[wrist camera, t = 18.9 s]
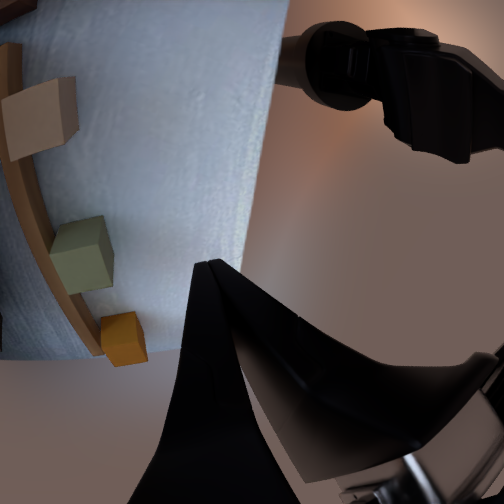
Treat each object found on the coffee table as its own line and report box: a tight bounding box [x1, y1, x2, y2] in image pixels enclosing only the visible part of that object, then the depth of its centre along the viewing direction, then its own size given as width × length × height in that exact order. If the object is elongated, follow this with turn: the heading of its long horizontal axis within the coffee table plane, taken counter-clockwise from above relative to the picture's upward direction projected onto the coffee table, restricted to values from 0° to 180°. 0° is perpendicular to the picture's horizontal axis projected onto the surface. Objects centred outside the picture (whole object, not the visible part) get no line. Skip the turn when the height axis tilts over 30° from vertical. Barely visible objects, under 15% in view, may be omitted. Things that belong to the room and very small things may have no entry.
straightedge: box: [0, 42, 105, 356], centre depth 16 cm, size 2×30×2 cm, turn 176°
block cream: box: [1, 76, 79, 162], centre depth 11 cm, size 4×4×4 cm
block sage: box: [49, 215, 114, 295], centre depth 18 cm, size 4×4×4 cm
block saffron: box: [101, 311, 148, 367], centre depth 25 cm, size 4×4×4 cm
